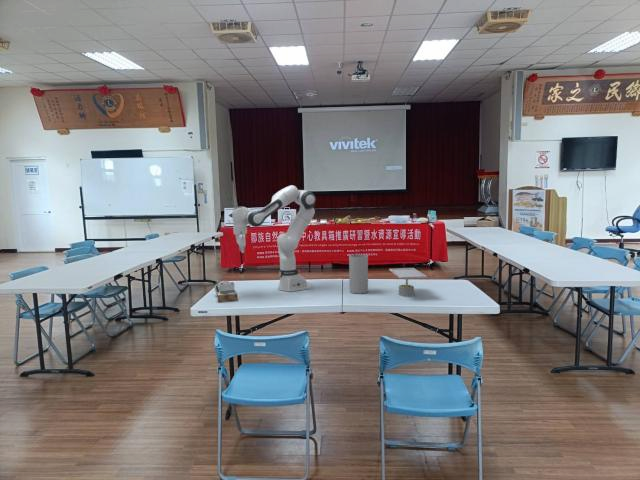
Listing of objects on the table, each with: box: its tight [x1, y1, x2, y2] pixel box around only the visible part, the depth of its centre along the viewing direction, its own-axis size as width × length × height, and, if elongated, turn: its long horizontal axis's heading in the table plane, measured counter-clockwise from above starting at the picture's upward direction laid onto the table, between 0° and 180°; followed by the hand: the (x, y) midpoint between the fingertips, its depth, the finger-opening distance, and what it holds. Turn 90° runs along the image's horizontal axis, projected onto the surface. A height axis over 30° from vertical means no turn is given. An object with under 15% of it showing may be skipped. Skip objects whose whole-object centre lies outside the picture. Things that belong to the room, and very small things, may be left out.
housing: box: [218, 281, 236, 294], centre depth 278 cm, size 9×5×6 cm, turn 107°
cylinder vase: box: [348, 253, 369, 295], centre depth 293 cm, size 12×12×25 cm
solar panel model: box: [388, 267, 428, 298], centre depth 285 cm, size 28×17×15 cm, turn 5°
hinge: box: [214, 280, 230, 296], centre depth 295 cm, size 17×5×10 cm, turn 166°
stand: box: [216, 289, 239, 303], centre depth 279 cm, size 12×8×5 cm, turn 107°
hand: (241, 251), depth 288 cm, fingers open, 8 cm apart
